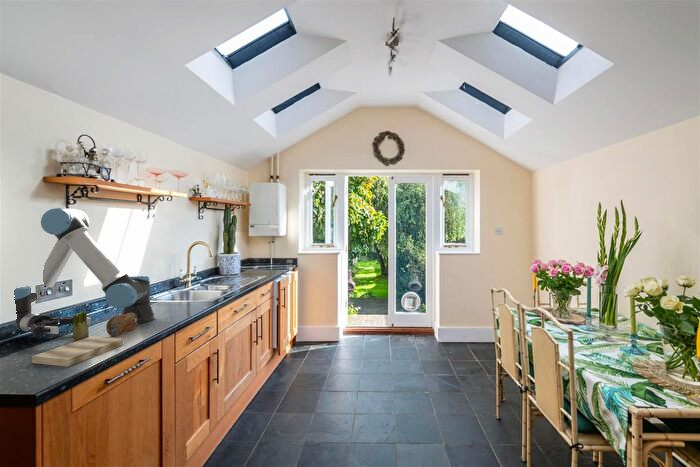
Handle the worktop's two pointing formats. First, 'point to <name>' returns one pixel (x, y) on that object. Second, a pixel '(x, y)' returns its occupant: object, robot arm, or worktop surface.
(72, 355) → the board
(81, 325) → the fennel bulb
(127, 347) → the worktop surface
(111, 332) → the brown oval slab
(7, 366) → the worktop surface
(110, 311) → the worktop surface
